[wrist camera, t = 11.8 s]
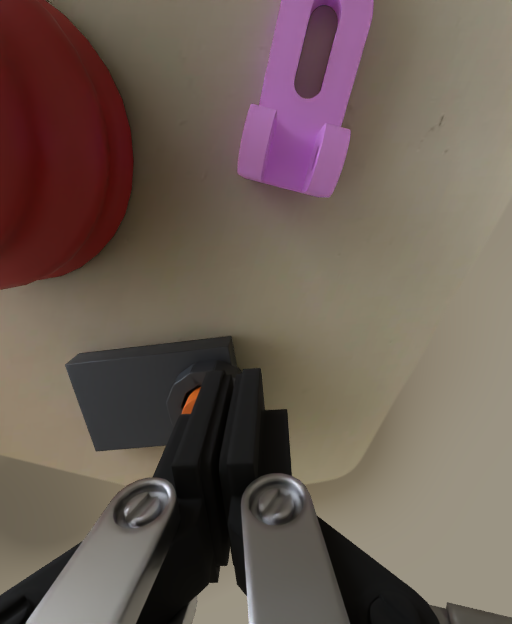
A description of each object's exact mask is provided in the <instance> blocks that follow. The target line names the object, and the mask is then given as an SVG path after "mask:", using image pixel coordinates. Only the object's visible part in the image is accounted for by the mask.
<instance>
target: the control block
mask: <svg viewBox="0 0 512 624" xmlns="http://www.w3.org/2000/svg"><path fill="white" fill-rule="evenodd" d="M65 367H66V369H67V372H68V375H69V378H70V380H71V383H72V386H73V389H74V392H75V394H76V397H77V400H78V403H79V406H80V408H81V411H82V414H83V417H84V419H85V422H86V425H87V428H88V431H89V433H90V436H91V439H92V442H93V444H94V447H95V450H96V451H107V450H118V449H130V448H141V447H153V446H165V445H167V443H168V440H169V438H170V436H171V433H172V431H173V429H174V426H175V424H176V422H177V419H178V417H179V416H180V415H181V414H182V411H183V408H184V406H185V404H186V401H187V399H188V397H189V395H190V394H191V393H192V392H193V391H194V390H195V389H197V388H199V387H201V385H202V383H203V380H204V377H205V375H206V372H207V371H218V370H225V372H226V375H228V374H232V378H233V385H234V383H235V378H236V374H242V371H241V370H240V369H239V368H238V367H237V364H236V358H235V353H234V347H233V342H232V337H231V336H227V337H218V338H210V339H201V340H192V341H184V342H175V343H166V344H158V345H149V346H140V347H132V348H123V349H114V350H106V351H97V352H88V353H80V354H78V355H77V356H75V357H74V358H73V359H72V360H70V361H69V362H68V363H67V364H65Z"/></svg>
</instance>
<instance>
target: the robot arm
mask: <svg viewBox="0 0 512 624" xmlns="http://www.w3.org/2000/svg"><path fill="white" fill-rule="evenodd" d="M230 548H231V554H232V561H233V565H234V567H235V574H236V581H237V585H238V586H239V587H240V588H241V590H242V591H243V592H244V593H245V594H246V596H247V600H248V613H249V614H248V615H249V624H512V618H511V617H507V616H503V615H498V614H494V613H490V612H485V611H482V610H477V609H473V608H469V607H465V606H461V605H456V604H452V603H447V606H446V609H445V608H441V607H436V606H432V605H429V604H428V603H427V602H426V601H425V600H424V599H423V598H422V597H421V596H420V595H419V594H418V593H417V592H416V591H415V590H413V589H412V588H411V587H409V586H408V585H407V584H405V583H404V582H403V581H402V580H400V579H399V578H397V577H396V576H395V575H394V574H392V573H391V572H390V571H388V570H387V569H386V568H384V567H383V566H382V565H381V564H379V563H378V562H377V561H375V560H374V559H373V558H371V557H370V556H369V555H368V554H366V553H365V552H364V551H362V550H361V549H360V548H358V547H357V546H356V545H354V544H353V543H352V542H351V541H349V540H348V539H347V538H345V537H344V536H343V535H341V534H340V533H339V532H337V531H336V530H335V529H334V528H332V527H331V526H330V525H328V524H327V523H326V522H324V521H323V520H322V519H321V518H319V517H318V516H317V515H316V512H315V509H314V505H313V503H312V499H311V496H310V493H309V492H308V490H307V488H306V486H305V485H304V484H303V483H302V482H301V481H300V480H298V479H296V478H294V477H292V472H291V457H290V443H289V428H288V413H287V409H280V410H265V407H264V396H263V385H262V375H261V368H254V369H243V372H242V374H236V378H235V383H234V385H233V378H232V374H228V375H226V372H225V370H218V371H207V372H206V375H205V377H204V380H203V383H202V385H201V388H200V390H199V393H198V396H197V398H196V401H195V404H194V406H193V409H192V412H191V414H181V415H180V416H179V417H178V419H177V422H176V424H175V426H174V429H173V431H172V433H171V436H170V438H169V440H168V443H167V445H166V447H165V450H164V452H163V454H162V457H161V459H160V461H159V464H158V466H157V468H156V471H155V473H154V475H153V478H145V479H141V480H137V481H135V482H133V483H131V484H129V485H127V486H126V487H125V488H123V489H122V490H121V491H119V492H118V493H117V495H116V496H115V497H114V498H113V499H112V500H111V501H110V503H109V504H108V506H107V507H106V509H105V510H104V512H103V513H102V514H101V516H100V517H99V519H98V520H97V521H96V523H95V524H94V526H93V527H92V529H91V530H90V531H89V533H88V534H87V536H86V537H85V539H84V540H83V541H82V542H80V543H79V544H77V545H76V546H75V547H73V548H71V549H70V550H68V551H67V552H65V553H64V554H62V555H61V556H59V557H58V558H56V559H55V560H53V561H52V562H50V563H49V564H47V565H45V566H44V567H42V568H41V569H39V570H38V571H36V572H35V573H34V574H32V575H30V576H29V577H27V578H26V579H24V580H23V581H21V582H20V583H18V584H17V585H15V586H14V587H12V588H11V589H9V590H8V591H6V592H4V593H3V594H2V595H0V624H192V621H193V617H194V615H195V611H196V606H197V595H198V594H199V593H200V592H201V591H202V590H203V589H204V588H205V587H206V586H207V585H208V584H209V583H217V582H218V578H219V571H220V566H227V564H228V559H229V551H230Z"/></svg>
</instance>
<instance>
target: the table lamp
mask: <svg viewBox="0 0 512 624" xmlns="http://www.w3.org/2000/svg"><path fill="white" fill-rule="evenodd" d="M133 162H134V161H133V150H132V140H131V130H130V127H129V123H128V119H127V115H126V112H125V108H124V104H123V100H122V98H121V96H120V94H119V92H118V90H117V87H116V85H115V83H114V81H113V79H112V77H111V75H110V73H109V71H108V69H107V67H106V66H105V64H104V63H103V61H102V60H101V59H100V57H99V56H98V54H97V53H96V51H95V50H94V48H93V47H92V45H91V44H90V43H89V41H88V40H87V39H86V38H85V37H84V36H83V35H82V33H81V32H80V31H79V30H78V29H77V28H76V27H75V26H74V25H73V24H72V23H71V22H70V21H69V20H68V18H67V17H66V16H65V15H64V14H62V13H61V12H60V11H58V10H57V9H56V8H54V7H53V6H52V5H50V4H49V3H48V2H46V1H45V0H0V290H2V289H7V288H12V287H17V286H22V285H27V284H29V283H31V282H34V281H36V280H42V279H47V278H53V277H58V276H62V275H64V274H67V273H69V272H71V271H73V270H76V269H78V268H80V267H82V266H83V265H84V264H86V263H87V262H88V261H90V260H91V259H92V258H93V257H95V256H96V255H97V254H99V252H100V251H101V250H102V249H103V248H104V247H105V246H106V244H107V243H108V242H109V241H110V240H111V239H112V237H113V236H114V234H115V233H116V231H117V229H118V227H119V225H120V223H121V221H122V219H123V218H124V216H125V213H126V209H127V205H128V201H129V198H130V194H131V190H132V176H133Z"/></svg>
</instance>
